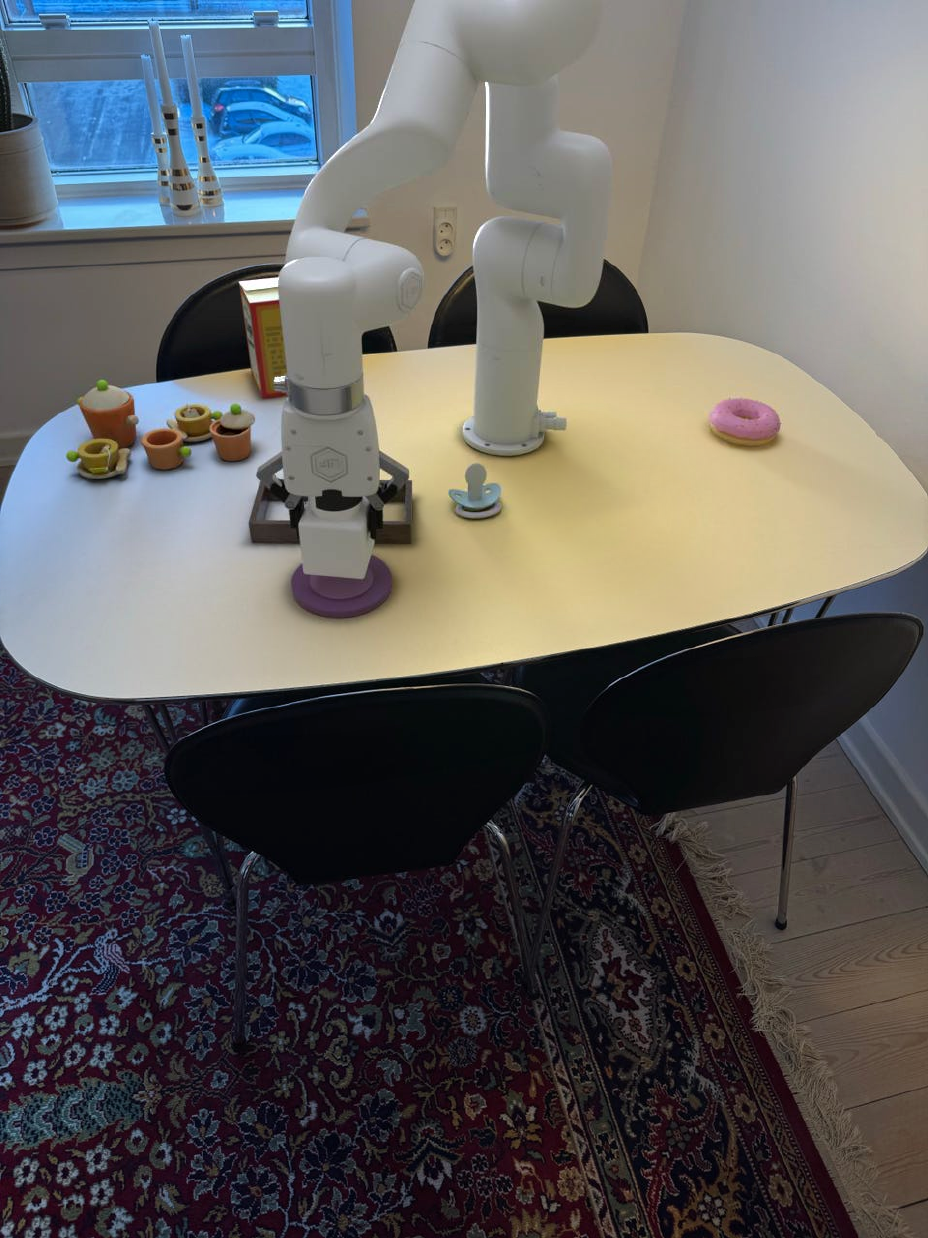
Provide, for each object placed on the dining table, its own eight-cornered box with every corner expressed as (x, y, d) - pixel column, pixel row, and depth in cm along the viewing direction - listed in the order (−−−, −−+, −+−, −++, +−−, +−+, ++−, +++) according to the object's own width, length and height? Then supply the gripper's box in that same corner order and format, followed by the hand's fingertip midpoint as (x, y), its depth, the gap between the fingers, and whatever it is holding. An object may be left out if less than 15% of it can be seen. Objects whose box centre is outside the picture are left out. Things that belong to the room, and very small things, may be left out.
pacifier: (509, 517, 115) (494, 492, 120) (512, 477, 111) (497, 453, 115) (457, 525, 114) (444, 499, 118) (459, 485, 109) (445, 460, 114)
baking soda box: (302, 393, 141) (292, 296, 130) (262, 398, 139) (249, 300, 128) (289, 369, 147) (279, 274, 137) (251, 374, 145) (238, 278, 135)
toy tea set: (70, 487, 117) (50, 424, 111) (76, 433, 128) (58, 373, 122) (263, 465, 123) (254, 404, 117) (252, 415, 134) (244, 356, 128)
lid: (393, 556, 108) (393, 549, 107) (390, 618, 99) (390, 611, 98) (297, 555, 107) (297, 548, 106) (286, 618, 98) (285, 610, 97)
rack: (412, 498, 118) (412, 479, 116) (411, 543, 110) (411, 524, 108) (263, 497, 117) (260, 478, 115) (251, 542, 109) (248, 523, 107)
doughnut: (700, 441, 133) (706, 416, 130) (712, 410, 140) (718, 387, 138) (772, 456, 130) (779, 431, 127) (780, 424, 137) (787, 400, 135)
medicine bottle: (375, 544, 103) (371, 457, 95) (364, 580, 98) (359, 491, 90) (316, 539, 103) (308, 451, 95) (302, 575, 98) (293, 485, 90)
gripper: (233, 405, 83) (256, 551, 95) (412, 408, 84) (413, 552, 95) (246, 372, 89) (266, 513, 100) (413, 374, 90) (414, 514, 101)
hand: (338, 531), depth 98 cm, fingers closed on medicine bottle, 7 cm apart
